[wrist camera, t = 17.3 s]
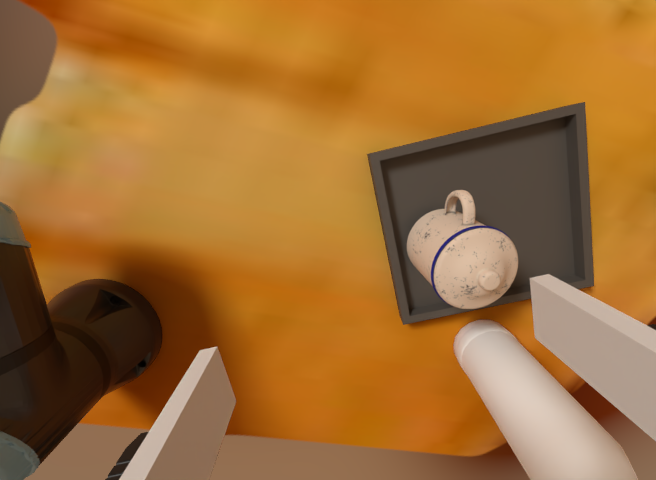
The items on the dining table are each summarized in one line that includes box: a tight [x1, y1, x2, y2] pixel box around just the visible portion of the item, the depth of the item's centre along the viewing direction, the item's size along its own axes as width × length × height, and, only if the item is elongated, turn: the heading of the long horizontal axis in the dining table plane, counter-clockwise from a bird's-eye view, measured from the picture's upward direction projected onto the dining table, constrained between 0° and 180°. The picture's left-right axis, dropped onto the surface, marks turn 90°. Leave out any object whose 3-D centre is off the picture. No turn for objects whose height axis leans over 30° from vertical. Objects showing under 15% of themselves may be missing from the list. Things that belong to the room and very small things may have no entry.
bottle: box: [453, 320, 639, 480], centre depth 33 cm, size 8×8×30 cm
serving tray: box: [367, 102, 594, 325], centre depth 42 cm, size 24×22×2 cm
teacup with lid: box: [407, 190, 518, 309], centre depth 37 cm, size 12×9×12 cm
